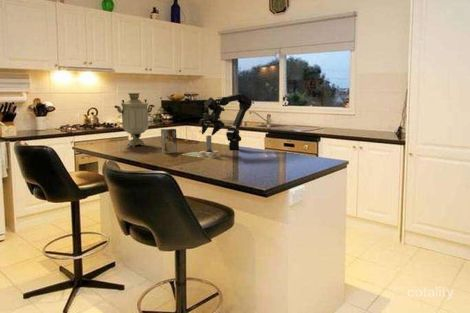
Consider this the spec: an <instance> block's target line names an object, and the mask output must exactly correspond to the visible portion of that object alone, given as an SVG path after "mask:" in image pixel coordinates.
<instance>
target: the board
mask: <svg viewBox="0 0 470 313" xmlns="http://www.w3.org/2000/svg"><path fill="white" fill-rule="evenodd" d="M181 155H183V156H189V157H195V158H196V157H197V158H201V159H203V158H204V159H216V158H219V157H222V155H220V151H219V150H214V149H212V152H207V149H206V150H202V151H199V152H197V151H191V152H187V153H182V154H181Z"/></svg>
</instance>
